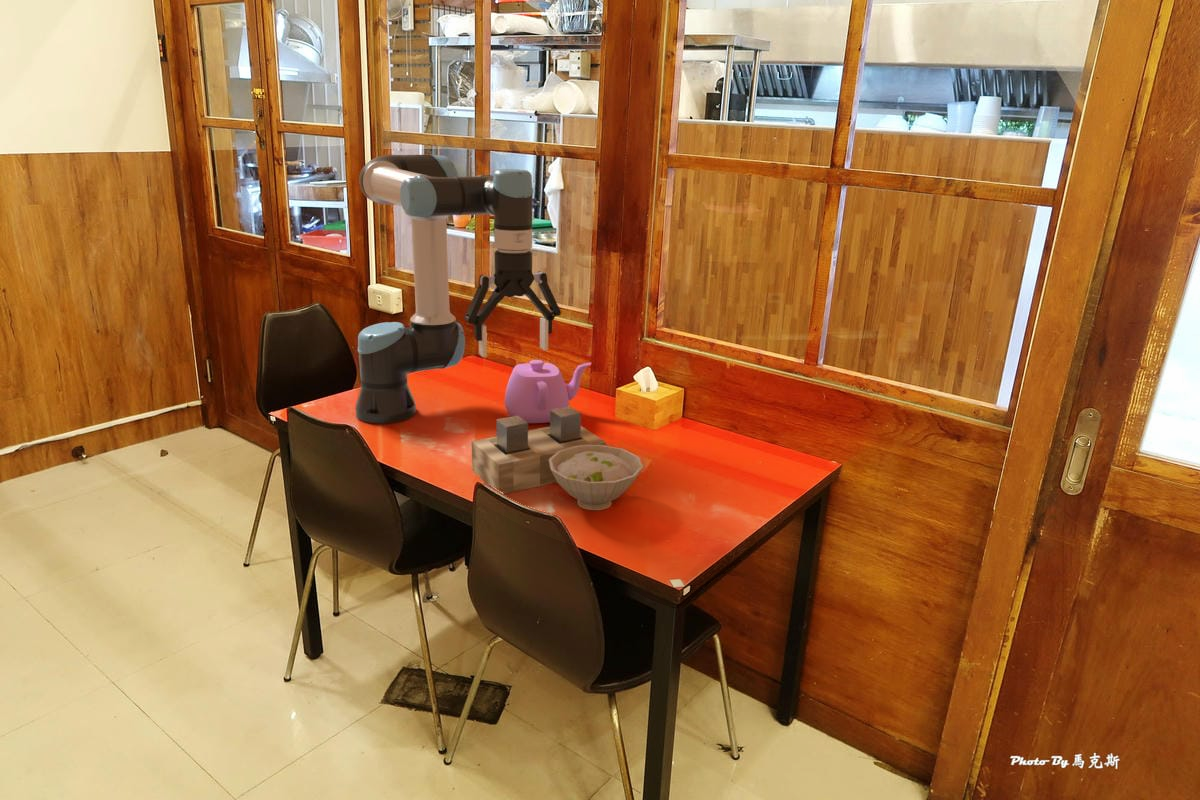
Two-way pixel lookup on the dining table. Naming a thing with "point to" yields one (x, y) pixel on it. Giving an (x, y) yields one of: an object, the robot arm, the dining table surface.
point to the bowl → (595, 473)
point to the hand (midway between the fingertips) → (513, 352)
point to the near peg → (512, 435)
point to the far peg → (565, 424)
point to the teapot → (539, 390)
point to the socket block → (522, 460)
